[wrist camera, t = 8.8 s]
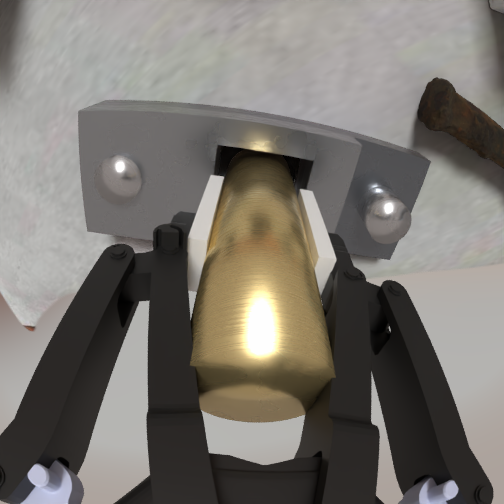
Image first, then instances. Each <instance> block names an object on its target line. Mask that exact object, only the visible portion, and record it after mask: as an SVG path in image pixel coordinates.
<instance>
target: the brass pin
mask: <svg viewBox="0 0 504 504" xmlns="http://www.w3.org/2000/svg"><path fill="white" fill-rule="evenodd" d="M191 332H192V342H193V351H192V357H191V362H190V365H191V366H195V371H196V380H197V388H198V396H199V403H200V409H201V410H202V411H204V412H207V413H209V414H212V415H214V416H217V417H221V418H225V419H229V420H235V421H242V422H274V421H282V420H287V419H291V418H296V417H299V416H302V415H305V414H306V412H307V411H308V410H309V408H310V407H311V406H312V404H313V403H314V402H315V400H316V399H317V398H318V396H319V395H320V394H321V392H322V391H323V390H324V388H325V387H326V385H327V384H328V383H329V381H330V380H331V378H336V376H335V370H334V365H333V358H332V352H331V347H330V341H329V336H328V331H327V326H326V321H325V316H324V311H323V306H322V301H321V297H320V292H319V287H318V283H317V278H316V274H315V269H314V265H313V260H312V256H311V252H310V247H309V243H308V239H307V235H306V231H305V227H304V223H303V219H302V215H301V211H300V207H299V203H298V199H297V195H296V191H295V188H294V184H293V180H292V176H291V173H290V169H289V166H288V164H287V162H286V160H285V159H284V158H283V156H281V155H280V154H275V153H270V152H264V151H258V150H251V149H244V150H242V151H240V152H239V153H238V154H236V155H235V156H234V157H233V159H232V160H231V161H230V163H229V165H228V168H227V172H226V176H225V179H224V183H223V188H222V192H221V196H220V200H219V204H218V208H217V212H216V216H215V220H214V224H213V228H212V233H211V237H210V241H209V245H208V249H207V254H206V257H205V260H204V264H203V268H202V272H201V277H200V281H199V285H198V290H197V295H196V299H195V304H194V308H193V313H192V318H191Z"/></svg>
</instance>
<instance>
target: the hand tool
mask: <svg viewBox="0 0 504 504" xmlns="http://www.w3.org/2000/svg"><path fill="white" fill-rule="evenodd" d="M418 117H419V120H420V121H421V122H423V123H424V124H425V126H426V127H427V128H428V129H430V130H433V131H444V132H448V133H449V134H450V135H452V136H454V137H455V138H456V139H457V140H459V141H461V142H462V143H464V144H465V145H466V146H467V147H469V148H470V149H473V150H474V151H476V152H477V153H478V155H479V156H480V157H482V158H484V159H487V158H489V159H490V160H492V161H494V162H495V163H497V164H498V165H500V166H501V167H502V168H504V129H503V128H502V127H501V126H500V125H498V124H497V123H496V122H495V121H494V120H492V119H491V118H490V117H489V116H488V115H487V114H485V113H484V112H483V111H481V110H480V109H479V108H477V107H476V106H475V105H473V104H472V103H471V102H469V101H467V100H466V99H465V98H463V97H462V96H460V95H459V94H458V93H456V91H455V88H454V87H453V85H452V84H451V83H450V82H449V81H448V80H445V79H438V78H437V77H436V78H434V79H433V80H432V81H431V82H429V83H428V84H427V86H426V90H425V92H424V93H423V95H422V98H421V101H420V104H419V110H418Z"/></svg>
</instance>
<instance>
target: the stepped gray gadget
mask: <svg viewBox="0 0 504 504" xmlns="http://www.w3.org/2000/svg"><path fill="white" fill-rule="evenodd" d="M78 127H79V155H80V170H81V182H82V192H83V201H84V210H85V217H86V224H87V231H89V232H96V233H102V234H109V235H116V236H123V237H130V238H137V239H144V240H151V241H153V231H154V229H155V228H156V227H157V226H159V225H162V224H168V223H171V221H172V218H173V216H174V215H176V214H177V213H178V212H180V211H183V212H190V213H197V211H198V208H199V205H200V202H201V200H202V197H203V194H204V192H205V189H206V186H207V184H208V181H209V178H210V176H211V175H215V176H218V173H219V165H220V158H221V150H222V145H223V146H231V147H238V148H245V149H251V150H258V151H264V152H270V153H275V154H281V155H287V156H292V157H297V158H301V160H300V164H299V169H298V173H297V177H296V181H295V185H294V188H295V191H296V195H297V198H298V194H299V191H300V189H303V190H309V191H313V194H314V197H315V199H316V202H317V205H318V207H319V210H320V213H321V216H322V218H323V221H324V224H325V227H326V230H327V232H328V233H334V234H338V235H339V236H340V237H341V238H342V239H343V240H344V243H345V245H346V248H347V250H348V253H349V254H356V255H362V256H369V257H375V258H381V259H388V260H390V258H391V256H392V254H393V252H394V250H395V248H396V245H397V243H398V241H399V240H400V239H401V238H403V237H404V236H405V234H406V233H407V232H408V230H409V228H410V226H411V212H412V209H413V207H414V204H415V202H416V199H417V197H418V194H419V192H420V189H421V187H422V184H423V182H424V179H425V176H426V174H427V171H428V168H429V165H430V162H431V161H429V160H428V159H427V158H425V157H424V156H423V155H421V154H420V153H418V152H415V151H412V150H409V149H406V148H403V147H400V146H397V145H394V144H391V143H388V142H385V141H382V140H378V139H375V138H372V137H368V136H365V135H361V134H358V133H354V132H350V131H346V130H343V129H339V128H335V127H331V126H326V125H322V124H318V123H313V122H309V121H304V120H300V119H295V118H290V117H284V116H279V115H274V114H268V113H262V112H256V111H249V110H242V109H235V108H228V107H219V106H211V105H201V104H190V103H177V102H160V101H130V100H106V101H103V102H100V103H97V104H95V105H92V106H89V107H87V108H84V109H82V110H79V111H78Z"/></svg>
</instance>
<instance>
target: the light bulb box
mask: <svg viewBox="0 0 504 504" xmlns="http://www.w3.org/2000/svg"><path fill="white" fill-rule="evenodd" d="M489 3H490V8H491V9H493V10H496V11H498V12H501V13H503V14H504V0H489Z"/></svg>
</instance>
